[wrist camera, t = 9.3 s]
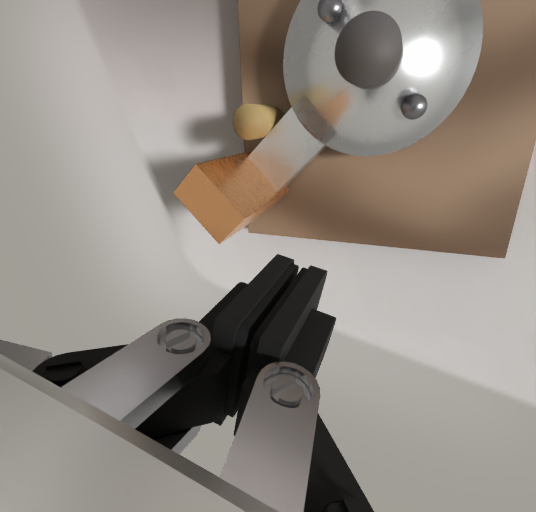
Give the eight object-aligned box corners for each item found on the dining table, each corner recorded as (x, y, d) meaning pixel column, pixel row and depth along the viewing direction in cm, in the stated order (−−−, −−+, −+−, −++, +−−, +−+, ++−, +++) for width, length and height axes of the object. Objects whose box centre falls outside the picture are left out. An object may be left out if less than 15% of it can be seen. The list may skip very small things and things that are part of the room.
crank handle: (392, -100, 13) (380, -240, 8) (520, 54, 14) (590, 17, 8) (207, 140, 20) (134, 149, 15) (296, 241, 20) (256, 286, 15)
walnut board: (244, -137, 16) (175, -240, 11) (622, -252, 11) (774, -512, 7) (257, 225, 23) (218, 255, 18) (497, 247, 18) (529, 295, 14)
